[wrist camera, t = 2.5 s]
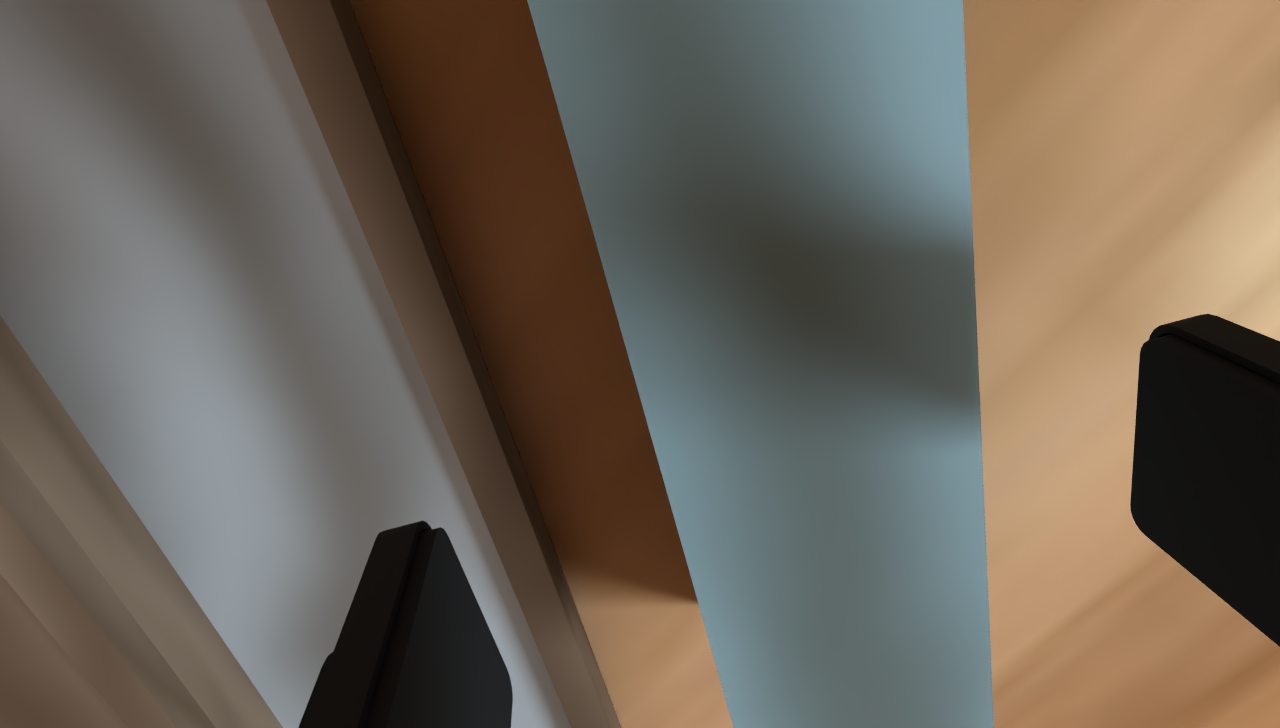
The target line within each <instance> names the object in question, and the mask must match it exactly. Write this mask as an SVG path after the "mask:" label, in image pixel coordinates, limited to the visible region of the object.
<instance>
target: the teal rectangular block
mask: <svg viewBox="0 0 1280 728" xmlns="http://www.w3.org/2000/svg"><path fill="white" fill-rule="evenodd" d="M527 2H528V5H529V9H530V12H531V16H532V19H533V23H534V26H535V30H536V33H537V37H538V40H539V44H540V47H541V51H542V54H543V58H544V61H545V65H546V69H547V72H548V76H549V79H550V83H551V86H552V90H553V93H554V97H555V100H556V104H557V107H558V111H559V114H560V118H561V121H562V125H563V128H564V132H565V135H566V139H567V142H568V146H569V150H570V153H571V157H572V160H573V164H574V167H575V171H576V174H577V178H578V181H579V185H580V188H581V192H582V195H583V199H584V202H585V206H586V209H587V213H588V216H589V220H590V223H591V227H592V231H593V234H594V238H595V241H596V245H597V248H598V252H599V255H600V259H601V262H602V266H603V269H604V273H605V276H606V280H607V283H608V287H609V290H610V294H611V297H612V301H613V304H614V308H615V312H616V315H617V319H618V322H619V326H620V329H621V333H622V336H623V340H624V343H625V347H626V350H627V354H628V357H629V361H630V364H631V368H632V371H633V375H634V378H635V382H636V385H637V389H638V393H639V396H640V400H641V403H642V407H643V410H644V414H645V417H646V421H647V424H648V428H649V431H650V435H651V438H652V442H653V445H654V449H655V452H656V456H657V459H658V463H659V466H660V470H661V473H662V477H663V481H664V484H665V488H666V491H667V495H668V498H669V502H670V505H671V509H672V512H673V516H674V519H675V523H676V526H677V530H678V533H679V537H680V540H681V544H682V547H683V551H684V554H685V558H686V562H687V565H688V569H689V572H690V576H691V579H692V583H693V586H694V590H695V593H696V597H697V600H698V604H699V607H700V611H701V614H702V618H703V621H704V625H705V628H706V632H707V635H708V639H709V643H710V646H711V650H712V653H713V657H714V660H715V664H716V667H717V671H718V674H719V678H720V681H721V685H722V688H723V692H724V695H725V699H726V702H727V706H728V709H729V713H730V716H731V720H732V724H733V727H734V728H994V718H993V695H992V672H991V648H990V625H989V602H988V579H987V555H986V532H985V509H984V485H983V462H982V439H981V416H980V392H979V369H978V346H977V322H976V299H975V276H974V252H973V229H972V206H971V183H970V159H969V136H968V113H967V89H966V66H965V43H964V20H963V0H527Z"/></svg>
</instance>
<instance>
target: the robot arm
mask: <svg viewBox="0 0 1280 728" xmlns="http://www.w3.org/2000/svg"><path fill="white" fill-rule="evenodd" d="M1131 513H1132V516H1133V519H1134V521H1135V523H1136V525H1137V526H1138V528H1139V529H1140V530H1141V531H1142V532H1143V533H1144V534H1145V535H1146V536H1147V537H1148V538H1149V539H1150V540H1152V541H1153V542H1154V543H1155V544H1156V545H1158V546H1159V547H1160V548H1161V549H1162V550H1164V551H1165V552H1166V553H1167V554H1169V555H1170V556H1171V557H1172V558H1173V559H1175V560H1176V561H1177V562H1178V563H1179V564H1181V565H1182V566H1183V567H1184V568H1185V569H1187V570H1188V571H1189V572H1190V573H1191V574H1193V575H1194V576H1195V577H1196V578H1197V579H1199V580H1200V581H1201V582H1202V583H1204V584H1205V585H1206V586H1207V587H1208V588H1210V589H1211V590H1212V591H1213V592H1214V593H1216V594H1217V595H1218V596H1219V597H1220V598H1222V599H1223V600H1224V601H1225V602H1226V603H1228V604H1229V605H1230V606H1231V607H1232V608H1234V609H1235V610H1236V611H1237V612H1239V613H1240V614H1241V615H1242V616H1243V617H1245V618H1246V619H1247V620H1248V621H1249V622H1251V623H1252V624H1253V625H1254V626H1255V627H1257V628H1258V629H1259V630H1260V631H1261V632H1263V633H1264V634H1265V635H1266V636H1267V637H1269V638H1270V639H1271V640H1272V641H1274V642H1275V643H1276V644H1277V645H1278V646H1280V341H1277V340H1275V339H1272V338H1270V337H1267V336H1265V335H1262V334H1260V333H1257V332H1255V331H1252V330H1250V329H1247V328H1245V327H1242V326H1240V325H1238V324H1235V323H1233V322H1230V321H1228V320H1225V319H1223V318H1220V317H1218V316H1214V315H1210V314H1204V315H1199V316H1195V317H1191V318H1187V319H1183V320H1180V321H1176V322H1172V323H1168V324H1164V325H1161V326H1159V327H1157V328H1156V329H1154V330H1153V332H1152V334H1151V335H1150V338H1149V340H1148V341H1147V342H1145V343H1144V344H1143V346H1142V348H1141V352H1140V362H1139V378H1138V394H1137V410H1136V426H1135V442H1134V458H1133V473H1132V489H1131ZM512 704H513V693H512V685H511V680H510V676H509V672H508V670H507V667H506V665H505V663H504V661H503V658H502V656H501V654H500V652H499V649H498V647H497V645H496V643H495V640H494V638H493V636H492V633H491V631H490V629H489V627H488V624H487V622H486V620H485V618H484V615H483V613H482V611H481V609H480V606H479V604H478V602H477V600H476V597H475V595H474V593H473V591H472V588H471V586H470V584H469V582H468V579H467V577H466V575H465V573H464V570H463V568H462V566H461V564H460V561H459V559H458V557H457V554H456V552H455V550H454V548H453V545H452V543H451V541H450V539H449V536H448V535H447V533H446V531H445V530H444V529H443V528H441V527H440V528H436V529H432V528H431V527H430V525H429V524H428V523H427V522H425V521H419V522H415V523H411V524H407V525H404V526H400V527H396V528H392V529H388V530H385V531H382V532H380V533H379V534H378V535H377V537H376V539H375V542H374V545H373V547H372V550H371V553H370V555H369V558H368V561H367V563H366V566H365V569H364V571H363V574H362V577H361V579H360V582H359V585H358V587H357V590H356V593H355V595H354V598H353V601H352V603H351V606H350V609H349V611H348V614H347V617H346V619H345V622H344V625H343V627H342V630H341V633H340V635H339V638H338V641H337V643H336V646H335V649H334V651H333V652H332V653H331V654H329V655H328V656H327V658H326V660H325V662H324V664H323V665H322V668H321V670H320V673H319V675H318V678H317V681H316V683H315V686H314V688H313V691H312V694H311V696H310V699H309V701H308V704H307V706H306V709H305V712H304V714H303V717H302V719H301V722H300V725H299V727H298V728H511V718H512Z"/></svg>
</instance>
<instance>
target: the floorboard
mask: <svg viewBox="0 0 1280 728" xmlns="http://www.w3.org/2000/svg"><path fill="white" fill-rule="evenodd" d="M419 521H425V522H427V523H428V524H429V525H430V527H431V528H432V529H436V528H440V527H441V528H443V529H444V530H445V531H446V533H447V535H448V536H449V539H450V541H451V543H452V545H453V548H454V550H455V552H456V554H457V557H458V559H459V561H460V564H461V566H462V568H463V570H464V573H465V575H466V577H467V579H468V582H469V584H470V586H471V588H472V591H473V593H474V595H475V597H476V600H477V602H478V604H479V606H480V609H481V611H482V613H483V615H484V618H485V620H486V622H487V624H488V627H489V629H490V631H491V633H492V636H493V638H494V640H495V643H496V645H497V647H498V649H499V652H500V654H501V656H502V658H503V661H504V663H505V665H506V667H507V670H508V672H509V676H510V680H511V685H512V693H513V704H512V718H511V728H621V726H620V723H619V721H618V718H617V715H616V713H615V710H614V707H613V705H612V702H611V699H610V697H609V694H608V691H607V689H606V686H605V683H604V681H603V678H602V675H601V673H600V670H599V667H598V665H597V662H596V659H595V657H594V654H593V651H592V648H591V646H590V643H589V640H588V638H587V635H586V632H585V630H584V627H583V624H582V622H581V619H580V616H579V614H578V611H577V608H576V606H575V603H574V600H573V598H572V595H571V592H570V590H569V587H568V584H567V582H566V579H565V576H564V574H563V571H562V568H561V565H560V563H559V560H558V557H557V555H556V552H555V549H554V547H553V544H552V541H551V539H550V536H549V533H548V531H547V528H546V525H545V523H544V520H543V517H542V515H541V512H540V509H539V507H538V504H537V501H536V499H535V496H534V493H533V491H532V488H531V485H530V483H529V480H528V477H527V474H526V472H525V469H524V466H523V464H522V461H521V458H520V456H519V453H518V450H517V448H516V445H515V442H514V440H513V437H512V434H511V432H510V429H509V426H508V424H507V421H506V418H505V416H504V413H503V410H502V408H501V405H500V402H499V400H498V397H497V394H496V391H495V389H494V386H493V383H492V381H491V378H490V375H489V373H488V370H487V367H486V365H485V362H484V359H483V357H482V354H481V351H480V349H479V346H478V343H477V341H476V338H475V335H474V333H473V330H472V327H471V325H470V322H469V319H468V317H467V314H466V311H465V308H464V306H463V303H462V300H461V298H460V295H459V292H458V290H457V287H456V284H455V282H454V279H453V276H452V274H451V271H450V268H449V266H448V263H447V260H446V258H445V255H444V252H443V250H442V247H441V244H440V242H439V239H438V236H437V234H436V231H435V228H434V225H433V223H432V220H431V217H430V215H429V212H428V209H427V207H426V204H425V201H424V199H423V196H422V193H421V191H420V188H419V185H418V183H417V180H416V177H415V175H414V172H413V169H412V167H411V164H410V161H409V159H408V156H407V153H406V151H405V148H404V145H403V143H402V140H401V137H400V134H399V132H398V129H397V126H396V124H395V121H394V118H393V116H392V113H391V110H390V108H389V105H388V102H387V100H386V97H385V94H384V92H383V89H382V86H381V84H380V81H379V78H378V76H377V73H376V70H375V68H374V65H373V62H372V60H371V57H370V54H369V51H368V49H367V46H366V43H365V41H364V38H363V35H362V33H361V30H360V27H359V25H358V22H357V19H356V17H355V14H354V11H353V9H352V6H351V3H350V1H349V0H0V728H298V727H299V725H300V722H301V719H302V717H303V714H304V712H305V709H306V706H307V704H308V701H309V699H310V696H311V694H312V691H313V688H314V686H315V683H316V681H317V678H318V675H319V673H320V670H321V668H322V665H323V664H324V662H325V660H326V658H327V656H328V655H329V654H331V653H332V652H333V651H334V649H335V646H336V643H337V641H338V638H339V635H340V633H341V630H342V627H343V625H344V622H345V619H346V617H347V614H348V611H349V609H350V606H351V603H352V601H353V598H354V595H355V593H356V590H357V587H358V585H359V582H360V579H361V577H362V574H363V571H364V569H365V566H366V563H367V561H368V558H369V555H370V553H371V550H372V547H373V545H374V542H375V539H376V537H377V535H378V534H379V533H380V532H382V531H385V530H388V529H392V528H396V527H400V526H404V525H407V524H411V523H415V522H419Z"/></svg>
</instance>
